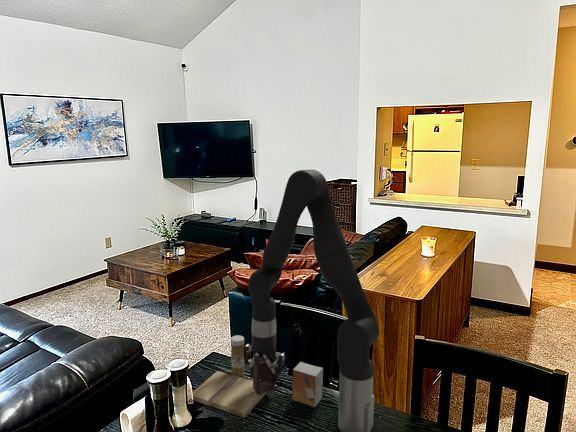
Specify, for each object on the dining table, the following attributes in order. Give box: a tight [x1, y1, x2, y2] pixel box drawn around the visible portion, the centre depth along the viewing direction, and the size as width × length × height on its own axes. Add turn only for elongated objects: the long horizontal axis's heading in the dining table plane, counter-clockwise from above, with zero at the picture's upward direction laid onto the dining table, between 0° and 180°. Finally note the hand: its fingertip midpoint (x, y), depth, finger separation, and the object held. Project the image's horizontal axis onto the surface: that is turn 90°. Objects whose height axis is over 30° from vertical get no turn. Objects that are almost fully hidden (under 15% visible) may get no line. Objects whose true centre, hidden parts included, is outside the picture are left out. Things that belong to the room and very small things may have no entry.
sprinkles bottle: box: [230, 335, 245, 378], centre depth 143 cm, size 5×5×13 cm
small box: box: [291, 361, 324, 408], centre depth 130 cm, size 8×6×10 cm
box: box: [252, 353, 277, 395], centre depth 131 cm, size 6×4×12 cm
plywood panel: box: [192, 370, 268, 418], centre depth 133 cm, size 20×15×2 cm
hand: (263, 379), depth 132 cm, fingers closed on box, 6 cm apart
